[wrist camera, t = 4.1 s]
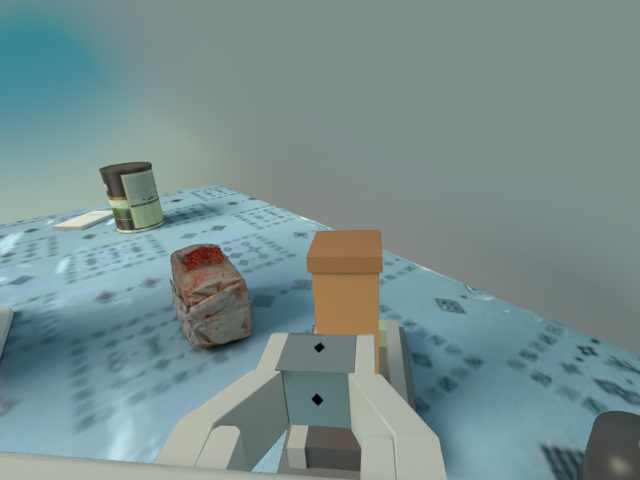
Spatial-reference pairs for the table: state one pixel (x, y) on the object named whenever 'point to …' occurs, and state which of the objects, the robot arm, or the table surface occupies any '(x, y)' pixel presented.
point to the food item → (209, 296)
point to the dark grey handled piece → (613, 448)
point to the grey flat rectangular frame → (340, 443)
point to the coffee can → (133, 196)
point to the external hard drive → (84, 221)
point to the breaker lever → (346, 282)
